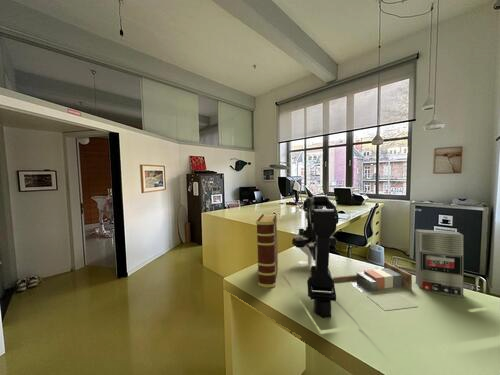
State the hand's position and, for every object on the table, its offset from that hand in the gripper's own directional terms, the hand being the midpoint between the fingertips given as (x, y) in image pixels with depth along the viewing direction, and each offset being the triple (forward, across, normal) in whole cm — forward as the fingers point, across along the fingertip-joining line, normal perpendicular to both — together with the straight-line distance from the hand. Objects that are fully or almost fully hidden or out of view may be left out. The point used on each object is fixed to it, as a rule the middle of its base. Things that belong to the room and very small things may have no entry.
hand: (314, 260), depth 91 cm
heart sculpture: (+12, -8, -23) cm, 27 cm away
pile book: (+12, -22, +18) cm, 31 cm away
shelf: (+12, -20, +6) cm, 24 cm away
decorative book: (+12, +18, -14) cm, 26 cm away
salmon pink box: (+11, -24, +6) cm, 27 cm away
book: (+11, -33, +6) cm, 35 cm away
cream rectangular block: (+11, -28, +6) cm, 31 cm away
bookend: (+11, -19, +6) cm, 23 cm away
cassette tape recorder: (+12, -47, +14) cm, 51 cm away
